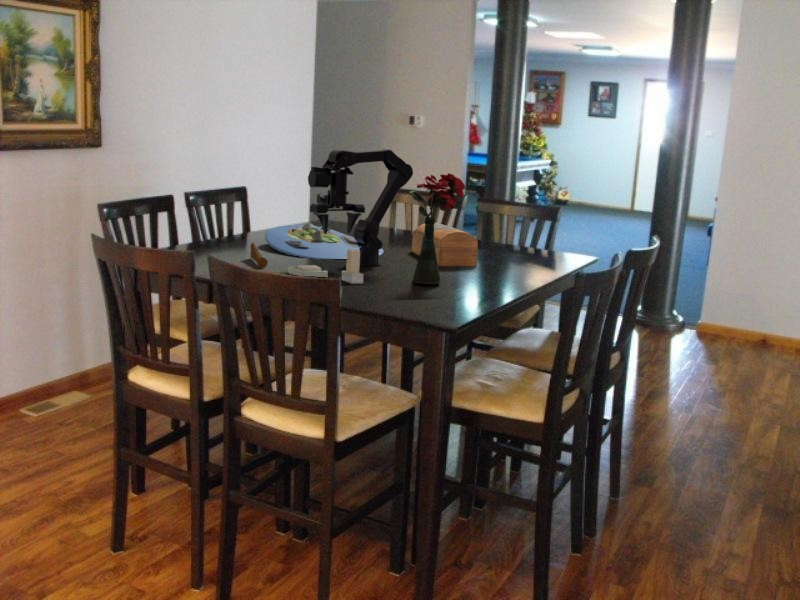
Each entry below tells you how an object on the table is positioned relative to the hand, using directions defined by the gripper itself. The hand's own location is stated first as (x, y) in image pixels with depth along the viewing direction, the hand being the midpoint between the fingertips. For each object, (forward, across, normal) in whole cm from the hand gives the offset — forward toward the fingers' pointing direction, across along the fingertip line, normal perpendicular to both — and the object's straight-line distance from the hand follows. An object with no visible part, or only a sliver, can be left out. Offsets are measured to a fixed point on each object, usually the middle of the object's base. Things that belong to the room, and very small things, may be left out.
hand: (336, 233), depth 279 cm
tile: (+12, +16, +11) cm, 23 cm away
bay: (+12, +17, +11) cm, 23 cm away
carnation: (+12, -17, +32) cm, 38 cm away
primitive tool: (+14, +22, -16) cm, 31 cm away
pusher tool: (+12, +8, +25) cm, 29 cm away
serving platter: (+13, -13, -33) cm, 38 cm away
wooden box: (+13, -47, -2) cm, 49 cm away
